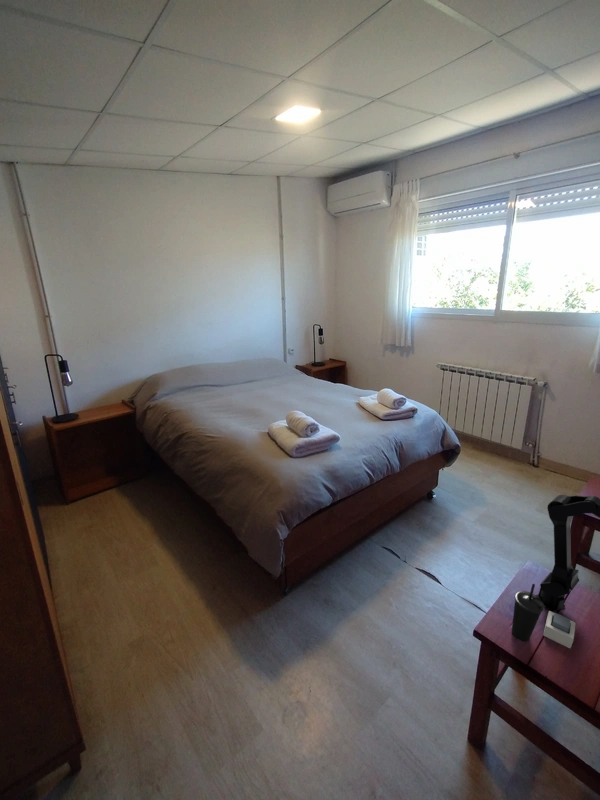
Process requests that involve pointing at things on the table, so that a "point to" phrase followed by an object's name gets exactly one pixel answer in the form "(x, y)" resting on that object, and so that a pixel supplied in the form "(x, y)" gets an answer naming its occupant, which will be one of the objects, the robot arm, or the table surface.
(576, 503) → the robot arm
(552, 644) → the table surface
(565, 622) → the button
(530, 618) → the drinking cup
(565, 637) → the switch box
